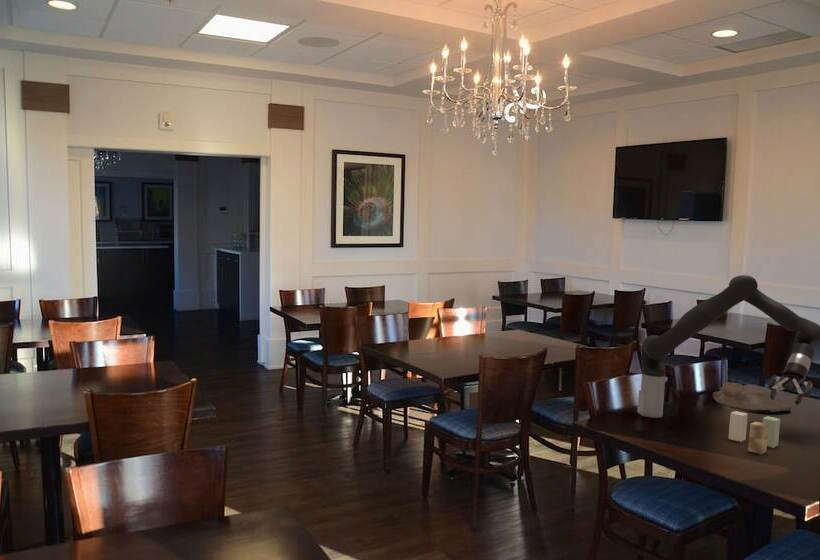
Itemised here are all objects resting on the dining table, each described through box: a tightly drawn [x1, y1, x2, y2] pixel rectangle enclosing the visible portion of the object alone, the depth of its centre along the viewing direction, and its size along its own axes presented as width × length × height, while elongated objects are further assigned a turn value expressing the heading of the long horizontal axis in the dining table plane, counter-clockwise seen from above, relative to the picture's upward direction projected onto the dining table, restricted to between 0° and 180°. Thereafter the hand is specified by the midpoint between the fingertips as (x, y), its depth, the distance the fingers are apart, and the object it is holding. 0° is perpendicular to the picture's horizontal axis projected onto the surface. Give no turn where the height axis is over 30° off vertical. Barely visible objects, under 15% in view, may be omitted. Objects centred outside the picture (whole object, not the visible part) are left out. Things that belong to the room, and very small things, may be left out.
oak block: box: [747, 421, 769, 455], centre depth 246 cm, size 4×4×10 cm
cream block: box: [728, 410, 749, 443], centre depth 259 cm, size 4×4×10 cm
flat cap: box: [712, 381, 792, 413], centre depth 310 cm, size 26×14×28 cm
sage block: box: [761, 415, 781, 449], centre depth 254 cm, size 4×4×10 cm
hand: (784, 401), depth 261 cm, fingers open, 8 cm apart
